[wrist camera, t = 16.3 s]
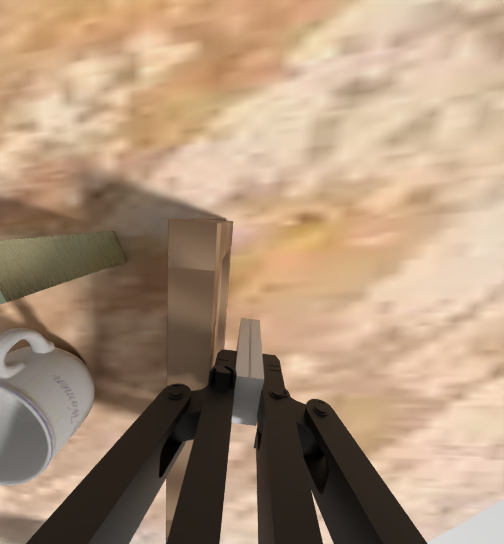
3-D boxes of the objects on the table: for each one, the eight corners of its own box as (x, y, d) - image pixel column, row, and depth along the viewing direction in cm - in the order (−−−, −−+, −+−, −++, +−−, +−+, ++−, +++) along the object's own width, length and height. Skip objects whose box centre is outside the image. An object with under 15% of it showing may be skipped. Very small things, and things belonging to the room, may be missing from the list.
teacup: (94, 426, 28) (34, 505, 20) (3, 395, 27) (-97, 466, 19) (129, 329, 25) (76, 378, 18) (29, 291, 24) (-74, 325, 17)
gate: (220, 412, 27) (200, 542, 16) (199, 411, 27) (165, 541, 16) (233, 221, 22) (217, 223, 11) (208, 219, 22) (168, 218, 11)
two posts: (118, 226, 23) (-76, 237, 9) (226, 426, 28) (204, 620, 15) (92, 238, 23) (-136, 265, 9) (203, 434, 29) (162, 632, 15)
